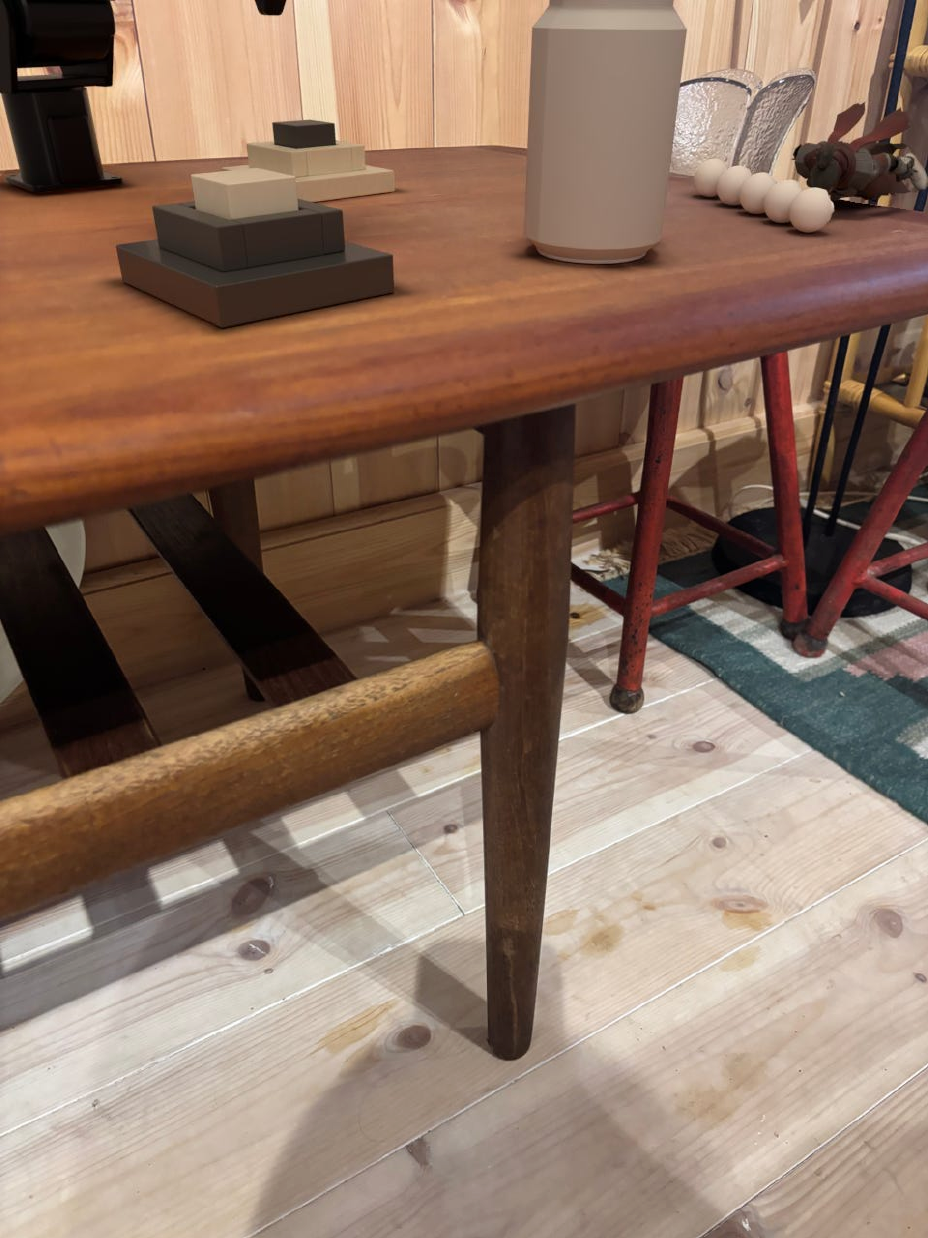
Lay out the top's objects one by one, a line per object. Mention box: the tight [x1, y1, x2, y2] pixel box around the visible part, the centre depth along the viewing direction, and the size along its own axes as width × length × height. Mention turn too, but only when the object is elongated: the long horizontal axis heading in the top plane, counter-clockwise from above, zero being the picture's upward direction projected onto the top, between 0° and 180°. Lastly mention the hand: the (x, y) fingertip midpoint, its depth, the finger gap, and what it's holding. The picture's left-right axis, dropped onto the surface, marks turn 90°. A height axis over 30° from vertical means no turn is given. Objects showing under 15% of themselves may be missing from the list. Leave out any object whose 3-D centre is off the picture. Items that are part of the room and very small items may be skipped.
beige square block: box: [190, 168, 298, 220], centre depth 41 cm, size 3×3×2 cm
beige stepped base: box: [220, 139, 396, 203], centre depth 65 cm, size 9×9×3 cm
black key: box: [271, 119, 337, 149], centre depth 64 cm, size 3×3×2 cm
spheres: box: [693, 158, 835, 233], centre depth 59 cm, size 15×2×2 cm, turn 14°
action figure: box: [790, 101, 928, 203], centre depth 60 cm, size 8×6×18 cm
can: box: [523, 0, 688, 265], centre depth 46 cm, size 8×8×12 cm
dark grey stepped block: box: [115, 199, 395, 329], centre depth 42 cm, size 10×9×4 cm
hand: (270, 14), depth 51 cm, fingers closed
